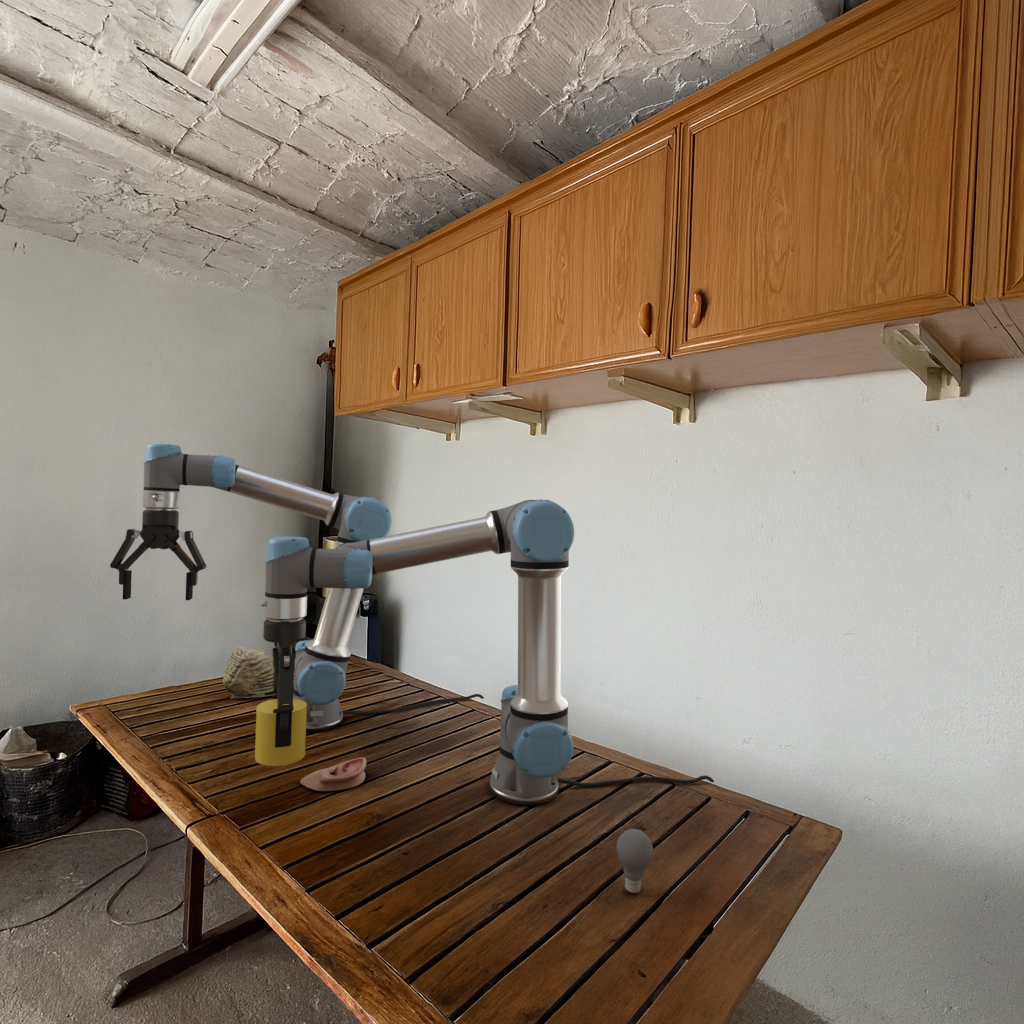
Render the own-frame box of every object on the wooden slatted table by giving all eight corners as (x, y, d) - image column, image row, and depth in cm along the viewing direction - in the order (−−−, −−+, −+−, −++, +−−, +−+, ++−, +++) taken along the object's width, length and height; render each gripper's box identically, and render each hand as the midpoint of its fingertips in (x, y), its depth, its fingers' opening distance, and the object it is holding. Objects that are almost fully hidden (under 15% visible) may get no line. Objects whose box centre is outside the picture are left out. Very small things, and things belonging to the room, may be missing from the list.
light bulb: (610, 879, 108) (613, 822, 108) (644, 879, 109) (647, 822, 109) (619, 902, 102) (622, 840, 102) (655, 901, 103) (658, 840, 103)
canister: (262, 770, 114) (264, 716, 114) (249, 753, 121) (250, 702, 121) (311, 759, 119) (313, 708, 119) (295, 743, 126) (297, 695, 126)
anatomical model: (293, 769, 137) (319, 749, 148) (292, 787, 137) (319, 766, 148) (350, 777, 134) (372, 756, 145) (349, 796, 134) (372, 773, 146)
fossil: (218, 695, 195) (220, 647, 195) (278, 685, 208) (279, 640, 207) (228, 703, 189) (230, 653, 188) (289, 692, 201) (290, 645, 201)
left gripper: (95, 507, 144) (92, 600, 144) (213, 512, 148) (209, 602, 149) (110, 507, 151) (107, 595, 151) (221, 511, 156) (218, 597, 156)
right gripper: (261, 609, 128) (257, 719, 128) (266, 631, 108) (262, 761, 109) (300, 607, 131) (296, 715, 132) (312, 629, 111) (307, 756, 112)
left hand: (158, 599), depth 150 cm, fingers open, 13 cm apart
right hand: (281, 736), depth 120 cm, fingers closed on canister, 9 cm apart
